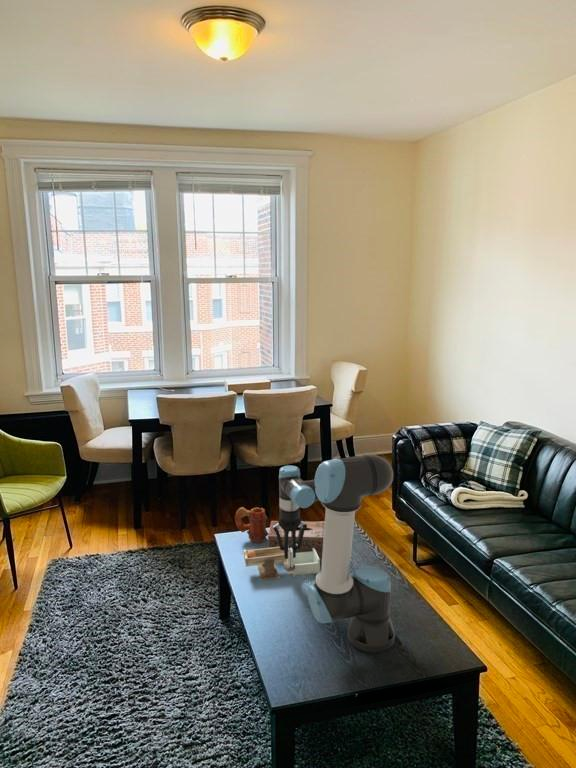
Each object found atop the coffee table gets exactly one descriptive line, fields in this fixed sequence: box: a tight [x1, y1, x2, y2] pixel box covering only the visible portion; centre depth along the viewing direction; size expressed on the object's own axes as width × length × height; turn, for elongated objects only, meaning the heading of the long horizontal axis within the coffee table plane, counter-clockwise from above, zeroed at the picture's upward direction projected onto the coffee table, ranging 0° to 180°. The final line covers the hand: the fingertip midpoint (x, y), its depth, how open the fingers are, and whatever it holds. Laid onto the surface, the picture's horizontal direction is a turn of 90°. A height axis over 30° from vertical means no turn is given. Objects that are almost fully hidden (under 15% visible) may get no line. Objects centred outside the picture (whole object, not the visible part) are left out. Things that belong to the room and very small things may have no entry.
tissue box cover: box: [267, 520, 325, 560], centre depth 237 cm, size 26×14×10 cm, turn 86°
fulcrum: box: [257, 560, 280, 581], centre depth 220 cm, size 10×7×7 cm
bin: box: [291, 548, 321, 577], centre depth 223 cm, size 10×11×6 cm
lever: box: [243, 545, 295, 575], centre depth 216 cm, size 16×18×3 cm
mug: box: [234, 506, 269, 544], centre depth 246 cm, size 15×8×15 cm, turn 84°
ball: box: [247, 549, 256, 558], centre depth 218 cm, size 4×4×4 cm
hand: (290, 565), depth 211 cm, fingers closed
